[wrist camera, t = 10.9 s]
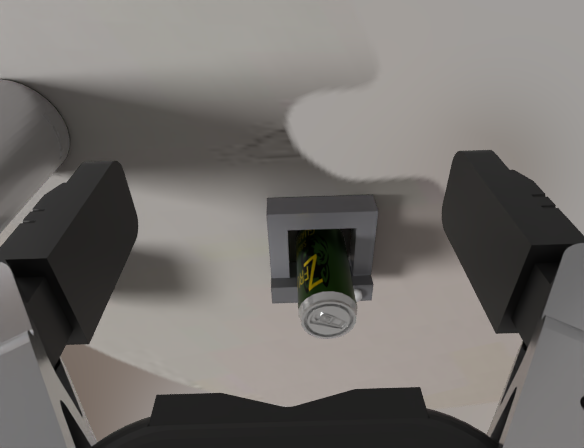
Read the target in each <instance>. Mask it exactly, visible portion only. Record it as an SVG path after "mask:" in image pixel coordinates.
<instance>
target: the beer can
mask: <svg viewBox="0 0 584 448" xmlns="http://www.w3.org/2000/svg"><path fill="white" fill-rule="evenodd" d="M296 258H297V286H298V313H299V318H300V320H301V325H302V327H303V329H304V330H305V331H306V332H307V333H308V334H310V335H312V336H314V337H318V338H323V339H328V338H336V337H340V336H342V335H344V334H346V333H348V332H349V331H350V330H351V329H352V328H353V327H354V325H355V323H356V315H357V304H356V299H355V293H354V288H353V282H352V277H351V271H350V266H349V261H348V255H347V250H346V244H345V239H344V236H343V233H342V231H341V230H340V229H311V230H300V232H299V233H298V235H297V238H296Z"/></svg>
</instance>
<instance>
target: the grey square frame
mask: <svg viewBox="0 0 584 448" xmlns="http://www.w3.org/2000/svg"><path fill="white" fill-rule="evenodd" d="M377 218H378V209H377V205H376V202H375V199H374V196H373V195H349V196H317V197H286V198H267V227H268V240H269V253H270V266H271V293H272V303H298V286H297V262H289V242H288V230H311V229H343V228H352V230H351V244H350V258H349V260H348V261H349V266H350V271H351V277H352V282H353V288H354V293H355V299H356V302H358V301H366V300H372V292H373V281H372V277H371V271H372V262H373V253H374V245H375V236H376V227H377Z"/></svg>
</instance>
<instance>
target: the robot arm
mask: <svg viewBox="0 0 584 448" xmlns="http://www.w3.org/2000/svg"><path fill="white" fill-rule="evenodd" d="M69 147H70V138H69V134H68V130H67V127H66V125H65V123H64V120H63V118H62V117H61V115H60V114H59V113H58V111H57V110H56V108H55V107H54V106H53V105H52V104H51V103H50V102H49V101H48V100H47V99H45V98H44V97H43V96H41V95H40V94H39V93H37V92H36V91H34V90H32V89H30V88H28V87H27V86H25V85H22V84H19V83H16V82H13V81H8V80H2V79H0V233H1V232H2V231H3V230H4V228H5V227H6V226H7V225H8V224H9V223H10V222H11V221H12V219H13V218H14V217H15V216H16V215H17V214H18V213H19V211H20V210H21V209H22V208H23V207H24V206H25V205H26V203H27V202H28V201H29V200H30V199H31V198H32V197H33V196H34V194H35V193H36V192H37V191H38V190H39V189H40V188H41V186H42V185H43V184H44V183H45V182H46V181H47V180H48V179H49V177H50V176H51V175H52V174H53V173H54V172H55V171H56V169H57V168H58V167H59V166H60V165H61V164H62V163H63V161H64V160H65V158H66V156H67V155H68V151H69ZM442 223H443V228H444V231H445V233H446V235H447V237H448V239H449V241H450V243H451V245H452V247H453V249H454V251H455V253H456V255H457V257H458V259H459V261H460V263H461V265H462V267H463V269H464V271H465V273H466V275H467V277H468V279H469V281H470V283H471V285H472V287H473V289H474V291H475V293H476V295H477V297H478V299H479V301H480V303H481V305H482V307H483V309H484V311H485V313H486V315H487V317H488V319H489V321H490V323H491V325H492V327H493V329H494V331H495V333H496V334H498V333H519V334H520V336H521V338H522V340H523V341H522V344H521V346H520V348H519V350H518V352H517V355H516V358H515V361H514V363H513V366H512V369H511V371H510V374H509V377H508V380H507V382H506V385H505V388H504V390H503V393H502V396H501V399H500V401H499V404H498V407H497V410H496V412H495V415H494V417H493V420H492V422H491V425H490V428H489V430H488V432H487V434H485V433H483V432H482V431H480V430H478V429H476V428H475V427H473V426H471V425H469V424H468V423H466V422H463V421H461V420H459V419H457V418H455V417H452V416H450V415H447V414H444V413H441V412H438V411H435V410H431V409H427V408H426V406H425V402H424V399H423V395H422V392H421V388H420V387H410V388H376V389H354V390H350V391H347V392H343V393H340V394H336V395H333V396H329V397H326V398H322V399H319V400H315V401H311V402H308V403H304V404H301V405H297V406H293V407H282V406H277V405H273V404H268V403H264V402H259V401H255V400H250V399H246V398H241V397H237V396H232V395H228V394H223V393H205V394H172V395H171V394H170V395H156V399H155V403H154V407H153V411H152V414H151V417H148V418H144V419H142V420H139V421H137V422H134V423H132V424H129V425H127V426H125V427H123V428H121V429H119V430H117V431H115V432H113V433H111V434H110V435H108V436H107V437H105V438H103V439H102V440H100V441H99V442H97V440H96V438H95V436H94V434H93V432H92V429H91V427H90V425H89V422H88V420H87V417H86V415H85V413H84V410H83V408H82V405H81V403H80V400H79V398H78V395H77V393H76V391H75V388H74V386H73V383H72V381H71V378H70V376H69V373H68V371H67V368H66V366H65V364H64V362H63V360H62V359H61V357H60V356H61V354H62V352H63V350H64V348H65V346H66V345H70V344H71V345H74V344H89V343H90V341H91V339H92V336H93V334H94V332H95V330H96V328H97V325H98V323H99V321H100V319H101V316H102V314H103V312H104V310H105V308H106V305H107V303H108V301H109V299H110V296H111V294H112V292H113V290H114V287H115V285H116V283H117V281H118V279H119V276H120V274H121V272H122V270H123V267H124V265H125V263H126V261H127V258H128V256H129V254H130V252H131V250H132V247H133V245H134V243H135V241H136V238H137V234H138V219H137V214H136V210H135V207H134V204H133V200H132V197H131V194H130V190H129V187H128V184H127V180H126V177H125V174H124V171H123V168H122V166H121V164H120V163H119V162H117V161H97V162H83V163H82V164H81V165H80V166H79V168H78V169H77V170H76V171H75V173H74V174H73V175H72V176H71V178H70V179H69V180H68V181H67V183H62V184H61V185H59V186H57V187H56V188H54V189H53V190H51V191H50V192H48V193H47V194H45V195H44V196H43V197H42V198H41V199H40V201H39V202H38V203H37V204H36V205H35V207H34V208H33V212H30V213H29V214H28V215H27V216H26V217H25V218H24V220H23V223H20V224H19V226H18V227H17V228H16V229H15V230H14V232H13V233H12V234H11V235H10V236H9V237H8V239H7V240H6V241H5V242H4V243H3V245H2V246H1V247H0V448H584V236H583V234H582V233H581V232H580V231H579V230H578V229H577V228H576V227H575V226H574V225H573V224H572V223H571V221H570V220H569V219H568V218H567V217H566V216H565V215H564V214H563V213H562V212H561V211H560V210H559V208H555V204H554V203H553V202H552V201H551V200H550V199H549V198H548V197H545V193H544V192H543V191H542V190H541V189H540V188H539V187H538V186H537V185H536V183H534V181H532V180H531V179H528V178H527V177H525V176H524V175H522V174H520V173H518V172H517V171H515V170H509V169H508V168H507V166H506V165H505V164H504V163H503V162H502V161H501V159H500V158H499V157H498V156H497V155H496V154H495V153H494V152H493V151H492V150H476V151H458V152H457V153H456V154H455V156H454V158H453V161H452V165H451V170H450V175H449V179H448V183H447V188H446V192H445V197H444V201H443V206H442Z"/></svg>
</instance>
